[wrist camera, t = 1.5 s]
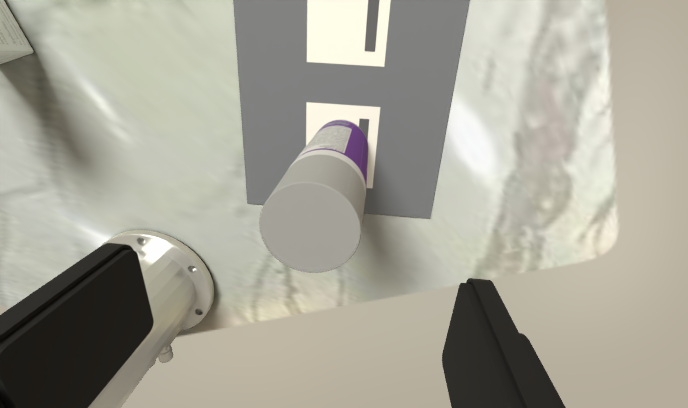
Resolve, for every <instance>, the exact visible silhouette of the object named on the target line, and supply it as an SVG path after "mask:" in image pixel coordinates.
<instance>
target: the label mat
mask: <svg viewBox="0 0 688 408" xmlns="http://www.w3.org/2000/svg"><path fill="white" fill-rule="evenodd" d="M469 1H470V0H233V2H234V16H235V30H236V45H237V59H238V73H239V88H240V102H241V117H242V131H243V145H244V160H245V174H246V188H247V203H248V204H260V205H264V204H265V202H266V201H267V199H268V198H269V196H270V195H271V194H272V192H273V191H274V189H275V188H276V186H277V185H278V183H279V182H280V180H281V179H282V178H283V176H284V175H285V173H286V172H287V170H288V169H289V167H290V166H291V164H292V163H293V162H294V161H295V159H296V158H297V157H298V156H299V154H300V153H301V152H302V151H303V149H304V148H305V147H306V146H307V144H308V143H309V142H310V141H311V139H312V138H313V137H314V136H315V134H316V133H317V132H318V131H319V130H320V128H321V127H323V126H324V125H325V124H327V123H328V122H331V121H334V120H347V121H350V122H353V123H354V124H356V125H357V126H359V127H360V128H361V129H362V131H363V132H364V134H365V135H366V138H367V141H368V166H367V186H366V197H365V205H364V213H368V214H380V215H392V216H404V217H417V218H429V219H430V217H431V211H432V206H433V200H434V194H435V189H436V183H437V178H438V172H439V167H440V161H441V156H442V150H443V145H444V139H445V134H446V128H447V122H448V117H449V111H450V106H451V100H452V95H453V89H454V84H455V78H456V73H457V67H458V62H459V56H460V50H461V45H462V39H463V34H464V28H465V23H466V17H467V12H468V6H469Z"/></svg>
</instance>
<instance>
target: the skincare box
mask: <svg viewBox="0 0 688 408" xmlns="http://www.w3.org/2000/svg"><path fill="white" fill-rule="evenodd" d="M32 53H33V49H32V47H31V46H30V44H29V42H28V41H27V39H26V37H25V36H24V34H23V32H22V30H21V29H20V27H19V25H18V24H17V22H16V20H15V19H14V17H13V15H12V13H11V12H10V10H9V8H8V7H7V5H6V3H5V1H4V0H0V64H3V63H6V62H9V61H11V60H14V59H17V58H20V57H23V56H26V55H29V54H32Z"/></svg>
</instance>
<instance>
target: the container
mask: <svg viewBox="0 0 688 408" xmlns="http://www.w3.org/2000/svg"><path fill="white" fill-rule="evenodd" d="M367 166H368V141H367V138H366V135H365V134H364V132H363V131H362V129H361V128H360V127H359V126H357V125H356V124H354V123H353V122H350V121H347V120H334V121H331V122H328V123H327V124H325V125H324V126H323V127H321V128H320V130H319V131H318V132H317V133H316V134H315V136H314V137H313V138H312V139H311V141H310V142H309V143H308V144H307V146H306V147H305V148H304V149H303V151H302V152H301V153H300V154H299V156H298V157H297V158H296V159H295V161H294V162H293V163H292V164H291V166H290V167H289V169H288V170H287V172H286V173H285V175H284V176H283V178H282V179H281V180H280V182H279V183H278V185H277V186H276V188H275V189H274V191H273V192H272V194H271V195H270V196H269V198H268V199H267V201H266V202H265V204H264V206H263V208H262V211H261V214H260V222H259V224H260V232H261V236H262V239H263V241H264V243H265V245H266V247H267V248H268V250H269V251H270V252H271V254H272V255H273V256H274V257H275V258H276V259H278V260H279V261H280V262H282V263H283V264H285V265H286V266H288V267H291V268H293V269H296V270H299V271H303V272H310V273H319V272H326V271H330V270H333V269H335V268H337V267H339V266H341V265H343V264H344V263H345V262H347V261H348V260H349V259H350V258H351V257H352V255H353V254H354V253H355V251H356V249H357V247H358V245H359V242H360V237H361V229H362V221H363V213H364V205H365V197H366V186H367Z"/></svg>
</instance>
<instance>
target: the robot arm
mask: <svg viewBox="0 0 688 408" xmlns="http://www.w3.org/2000/svg"><path fill="white" fill-rule="evenodd" d="M213 299H214V286H213V281H212V278H211V275H210V273H209V271H208V269H207V268H206V266H205V264H204V263H203V262H202V261H201V259H200V258H199V257H198V256H197V255H196V254H195V253H194V252H193V251H192V250H191V249H190V248H188V247H187V246H186V245H184V244H183V243H181V242H180V241H178V240H176V239H174V238H172V237H170V236H168V235H165V234H162V233H158V232H155V231H148V230H130V231H126V232H122V233H120V234H118V235H116V236H114V237H112V238H111V239H109V240H108V241H106V242H105V243H104V244H102V246H101V247H99V248H98V249H96V250H95V251H93V252H92V253H90V254H89V255H87V256H86V257H85V258H83V259H82V260H80V261H79V262H77V263H76V264H74V265H73V266H71V267H70V268H68V269H67V270H66V271H64V272H63V273H61V274H60V275H58V276H57V277H55V278H54V279H52V280H51V281H49V282H48V283H46V284H45V285H44V286H42V287H41V288H39V289H38V290H36V291H35V292H33V293H32V294H30V295H29V296H27V297H26V298H25V299H23V300H22V301H20V302H19V303H17V304H16V305H14V306H13V307H11V308H10V309H8V310H7V311H6V312H4V313H3V314H2V315H0V408H121V407H122V405H123V404H124V403H125V401H126V400H127V398H128V397H129V396H130V394H131V393H132V392H133V390H134V389H135V387H136V386H137V385H138V383H139V381H140V380H141V379H142V378H143V376H144V375H145V374H146V372H147V371H148V370H149V368H151V367H152V366H153V365H154V364H155V361H156V358H157V357H159V360H160V362H162V363H165V362H168V361H170V360H171V359H172V357H173V353H172V348H171V346H170V344H171V343H172V341H173V340H174V339H175V337H176V336H177V334H178V333H179V331H184V330H186V329H189V328H192V327H193V326H195V325H197V324H198V323H199V322H200V321H201V320H202V319H203V318H204V317H205V316H206V314H207V313H208V311H209V310H210V308H211V305H212V303H213ZM442 363H443V369H444V373H445V378H446V383H447V388H448V392H449V397H450V402H451V406H452V408H565V406H564V404H563V402H562V400H561V398H560V396H559V395H558V393H557V391H556V389H555V387H554V386H553V384H552V382H551V380H550V378H549V376H548V374H547V372H546V371H545V369H544V367H543V365H542V363H541V361H540V360H539V358H538V356H537V354H536V352H535V350H534V348H533V347H532V345H531V343H530V341H529V340H528V338H527V337H526V336H525V335H523V334H520V333H519V332H518V330H517V328H516V326H515V325H514V323H513V321H512V319H511V317H510V315H509V313H508V311H507V309H506V307H505V305H504V303H503V301H502V299H501V298H500V296H499V294H498V292H497V290H496V288H495V286H494V284H493V283H492V281H490V280H482V279H472V278H469V279H468V280H467V282H466V283H461V284H460V286H459V289H458V293H457V297H456V301H455V306H454V309H453V314H452V317H451V321H450V326H449V329H448V333H447V338H446V342H445V346H444V350H443V355H442Z"/></svg>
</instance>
